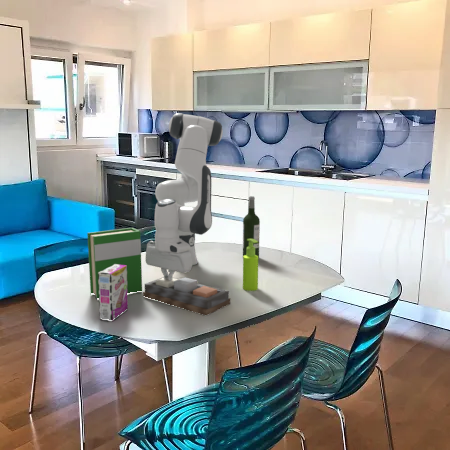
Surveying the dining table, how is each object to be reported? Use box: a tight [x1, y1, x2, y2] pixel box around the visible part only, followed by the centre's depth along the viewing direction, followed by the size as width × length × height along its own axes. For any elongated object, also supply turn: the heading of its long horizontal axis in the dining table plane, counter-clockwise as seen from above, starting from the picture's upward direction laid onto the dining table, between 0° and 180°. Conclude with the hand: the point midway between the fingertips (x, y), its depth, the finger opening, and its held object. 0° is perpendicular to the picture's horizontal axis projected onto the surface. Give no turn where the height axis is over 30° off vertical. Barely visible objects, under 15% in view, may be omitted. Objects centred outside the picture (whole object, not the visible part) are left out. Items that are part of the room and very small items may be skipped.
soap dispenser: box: [242, 239, 259, 292], centre depth 189 cm, size 6×7×20 cm
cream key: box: [155, 277, 180, 288], centre depth 182 cm, size 6×6×4 cm
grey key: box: [174, 277, 198, 293], centre depth 177 cm, size 6×6×4 cm
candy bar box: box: [98, 264, 129, 320], centre depth 162 cm, size 11×5×16 cm, turn 163°
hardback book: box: [86, 227, 143, 298], centre depth 183 cm, size 18×7×24 cm, turn 123°
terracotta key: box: [193, 285, 218, 298], centre depth 172 cm, size 6×6×4 cm
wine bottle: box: [242, 195, 261, 260], centre depth 232 cm, size 8×8×30 cm
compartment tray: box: [142, 276, 231, 316], centre depth 178 cm, size 30×14×5 cm, turn 54°
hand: (168, 279), depth 182 cm, fingers closed, pressing on cream key
